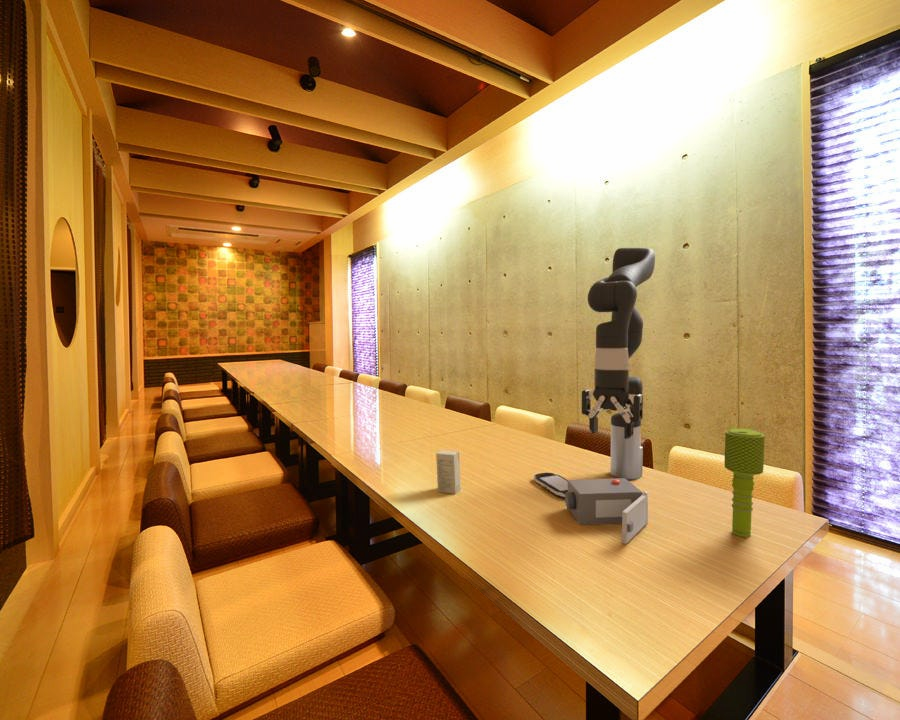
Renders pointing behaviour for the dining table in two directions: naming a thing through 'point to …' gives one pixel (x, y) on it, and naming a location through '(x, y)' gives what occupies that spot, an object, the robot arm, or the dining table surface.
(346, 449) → the dining table surface
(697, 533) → the dining table surface
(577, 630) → the dining table surface
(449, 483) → the skincare box
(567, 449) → the dining table surface
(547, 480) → the gaming console
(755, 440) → the green knurled bolt
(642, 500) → the side door
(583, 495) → the box
